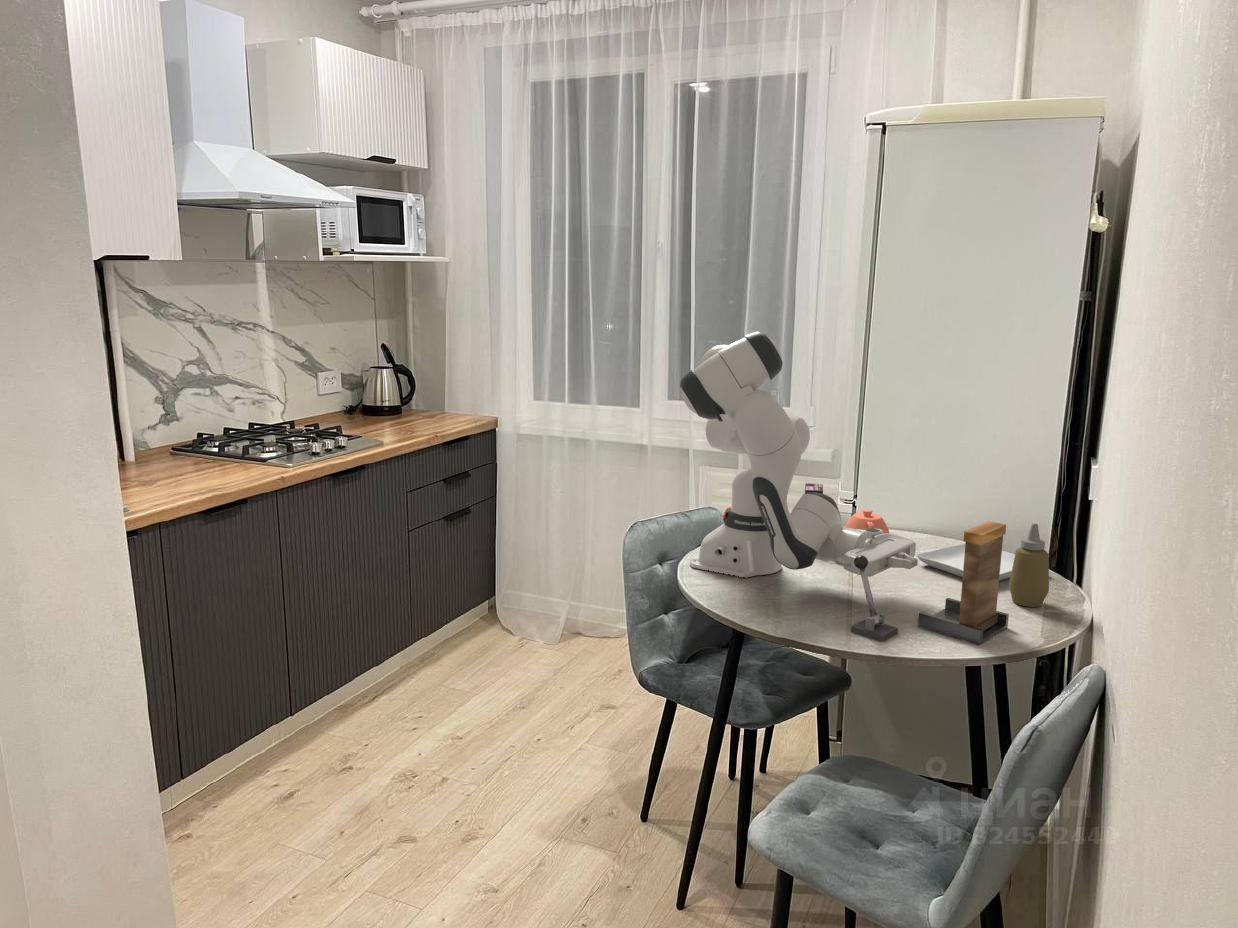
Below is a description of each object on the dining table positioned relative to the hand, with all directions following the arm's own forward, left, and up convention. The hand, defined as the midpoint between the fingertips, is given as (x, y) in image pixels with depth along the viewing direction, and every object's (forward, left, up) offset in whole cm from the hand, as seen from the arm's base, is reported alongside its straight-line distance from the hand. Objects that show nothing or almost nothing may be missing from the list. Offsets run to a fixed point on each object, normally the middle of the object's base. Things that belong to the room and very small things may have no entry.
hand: (914, 564), depth 188 cm
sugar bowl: (-15, +43, -11) cm, 46 cm away
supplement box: (-29, +41, -11) cm, 51 cm away
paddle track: (+10, -5, -11) cm, 16 cm away
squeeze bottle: (+23, +15, -11) cm, 29 cm away
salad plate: (+13, +35, -11) cm, 39 cm away
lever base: (-6, -15, -11) cm, 19 cm away
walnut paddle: (+13, -7, -9) cm, 17 cm away
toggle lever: (-6, -15, -8) cm, 18 cm away
